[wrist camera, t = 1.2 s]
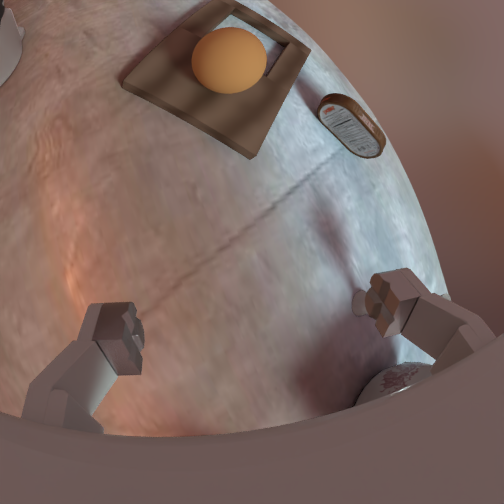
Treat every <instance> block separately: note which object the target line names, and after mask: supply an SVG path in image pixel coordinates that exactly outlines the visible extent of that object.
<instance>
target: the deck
mask: <svg viewBox="0 0 504 504" xmlns="http://www.w3.org/2000/svg"><path fill="white" fill-rule="evenodd" d="M230 14H232V15H234V16H235V17H237V18H239V19H241V20H242V21H244V22H246V23H248V24H249V25H251V26H253V27H254V28H256V29H258V30H259V31H261V32H262V33H264V34H265V35H267V36H269V37H270V38H272V39H273V40H275V41H276V42H278V43H279V44H281V45H282V46H283V47H285V48H284V50H283V51H282V52H281V54H280V55H279V57H278V58H277V60H276V61H275V63H274V64H273V66H272V67H271V69H270V70H269V72H268V73H267V75H266V76H265V75H262V77H261V78H260V79H259V80H258V82H257V83H255V84H254V85H253V86H252V87H250V88H248V89H247V90H244V91H242V92H238V93H232V94H224V93H218V92H214V91H212V90H210V89H208V88H206V87H205V86H203V85H202V84H201V83H200V82H199V81H198V79H197V78H196V76H195V74H194V72H193V69H192V54H193V51H194V49H195V47H196V45H197V43H198V42H199V41H200V40H201V39H202V38H203V37H204V36H205V35H207V34H208V33H210V32H211V31H212V30H213V29H214V28H215V27H217V26H218V25H219V24H220V23H221V22H222V21H223V20H224V19H226V18H227V17H228V16H229V15H230ZM310 52H311V49H309V48H308V47H307V46H305V45H304V44H303V43H301V42H300V41H299V40H297V39H296V38H294V37H293V36H292V35H290V34H289V33H287V32H286V31H284V30H283V29H282V28H280V27H279V26H277V25H275V24H274V23H272V22H271V21H269V20H268V19H266V18H264V17H263V16H261V15H260V14H258V13H256V12H255V11H253V10H251V9H249V8H248V7H246V6H244V5H242V4H240V3H239V2H237V1H235V0H212V1H210V2H209V3H208V4H206V5H205V6H204V7H202V8H201V9H200V10H198V11H197V12H196V13H194V14H193V15H192V16H191V17H189V18H188V19H187V20H186V21H184V22H183V23H182V24H181V25H180V26H178V27H177V28H176V29H175V30H174V31H173V32H171V33H170V34H169V35H168V36H167V37H166V38H165V39H164V40H163V41H161V42H160V43H159V44H158V45H157V46H156V47H155V48H154V49H153V50H152V51H151V52H150V53H149V54H148V55H147V56H146V57H145V58H144V59H143V60H142V61H141V62H140V63H139V64H138V65H137V66H136V67H135V68H134V69H133V70H132V71H131V73H130V74H129V75H128V76H127V77H126V78H125V79H124V80H123V87H122V88H123V89H125V90H127V91H129V92H131V93H133V94H135V95H137V96H139V97H141V98H143V99H145V100H147V101H149V102H151V103H153V104H155V105H157V106H159V107H160V108H162V109H164V110H166V111H168V112H170V113H172V114H173V115H175V116H177V117H179V118H181V119H182V120H184V121H186V122H188V123H190V124H191V125H193V126H195V127H197V128H198V129H200V130H202V131H204V132H205V133H207V134H209V135H210V136H212V137H214V138H215V139H217V140H219V141H220V142H222V143H224V144H225V145H227V146H229V147H230V148H232V149H233V150H235V151H237V152H238V153H240V154H241V155H243V156H245V157H246V158H248V159H249V160H251V159H252V158H254V157H255V156H256V155H257V153H258V151H259V149H260V147H261V145H262V143H263V141H264V139H265V137H266V135H267V133H268V131H269V129H270V127H271V125H272V123H273V121H274V120H275V118H276V116H277V114H278V112H279V110H280V108H281V106H282V104H283V102H284V100H285V98H286V96H287V94H288V93H289V91H290V89H291V87H292V85H293V83H294V81H295V79H296V78H297V76H298V74H299V72H300V70H301V68H302V66H303V65H304V63H305V61H306V59H307V57H308V56H309V54H310Z"/></svg>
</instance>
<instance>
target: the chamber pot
mask: <svg viewBox="0 0 504 504" xmlns="http://www.w3.org/2000/svg"><path fill="white" fill-rule="evenodd" d="M431 367H432V365H430V364H426V363H421V362H404V363H402V364H399V365H396V366H393V367H390V368H388V369H385V370H383V371H381V372H380V373H378V374H377V375H376V376H375V377H373V378H372V379H371V380H370V382H369V383H368V384H367V385H366V386H365V388H364V389H363V391H362V392H361V394H360V396H359V397H358V399H357V402H356V404H355V406H358V405H361V404H364V403H367V402H369V401H372V400H375V399H378V398H380V397H383V396H386V395H388V394H391V393H393V392H396V391H398V390H401V389H403V388H405V387H408V386H410V385H412V384H415V383H417V382H419V381H421V380H423V379H425V378H428V377H430V376H432V374H431V372H430V368H431ZM355 406H354V407H355Z"/></svg>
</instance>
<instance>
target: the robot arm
mask: <svg viewBox="0 0 504 504" xmlns="http://www.w3.org/2000/svg"><path fill="white" fill-rule="evenodd" d="M24 34H25V30H24V28H23V27H17V24H16V21H15V18H14V15H13V12H12V10H11V9H10V8H5V6H4V0H0V86H1V85H2V84H3V83H4V82H5V81H6V80H7V78H8V77H9V76H10V75H11V73H12V72H13V70H14V69H15V67H16V66H17V64H18V62H19V60H20V57H21V54H22V39H23V36H24ZM370 284H371V286H372V287H371V288H370V289H369V290H368V291H367V293H366V296H365V307H366V311H367V313H368V314H369V316H370V317H372V318H373V319H375V320H376V323H375V326H376V327H377V329H378V331H379V332H380V334H381V335H382V337H383V338H385V337H389V336H393V335H396V334H400V333H401V335H403V336H404V337H405V338H407V339H408V340H409V341H411V342H412V343H414V344H415V345H416V346H418V347H419V348H420V349H422V350H423V351H424V352H426V353H427V354H429V355H430V356H431V357H433V358H434V359H435V360H436V361H435V363H434V364H433V365H432V367H431V368H430V372H431V374H432V376H430V377H428V378H425V379H423V380H421V381H419V382H417V383H415V384H412V385H410V386H408V387H405V388H403V389H401V390H398V391H396V392H393V393H391V394H388V395H386V396H383V397H380V398H378V399H375V400H372V401H369V402H367V403H364V404H361V405H358V406H355V407H351V408H348V409H345V410H342V411H338V412H335V413H331V414H328V415H324V416H320V417H316V418H312V419H308V420H304V421H300V422H295V423H291V424H286V425H281V426H275V427H270V428H264V429H258V430H251V431H244V432H236V433H227V434H217V435H204V436H186V437H141V436H123V435H111V434H103V433H104V428H103V426H102V425H101V424H100V423H99V422H98V421H96V420H95V419H94V418H93V417H92V414H93V413H94V411H95V410H96V408H97V407H98V405H99V404H100V402H101V401H102V399H103V398H104V396H105V395H106V393H107V392H108V391H109V389H110V388H111V386H112V385H113V383H114V382H115V380H116V379H117V378H118V376H119V375H141V371H142V361H143V358H142V356H141V354H140V351H141V350H142V349H143V348H144V341H145V339H144V329H143V325H142V323H141V320H140V319H138V318H137V317H136V313H137V310H136V307H135V305H134V303H133V302H115V303H91V304H90V305H89V306H88V309H87V312H86V314H85V317H84V320H83V323H82V326H81V329H80V332H79V335H78V339H77V341H72V342H71V343H70V344H69V345H68V346H67V347H66V348H65V349H64V350H63V351H62V352H61V353H60V354H59V355H58V356H57V357H56V358H55V359H54V360H53V361H52V362H51V363H50V364H49V365H48V366H47V367H46V368H45V369H44V370H43V371H42V372H41V373H40V374H39V375H38V376H37V377H36V378H35V379H34V380H33V381H32V382H31V383H30V385H29V389H28V392H27V396H26V400H25V404H24V408H23V412H22V416H21V418H19V417H16V416H12V415H9V414H6V413H3V412H0V504H504V333H503V334H502V335H501V336H499V337H498V338H496V337H495V335H494V334H493V333H492V331H491V330H490V329H489V328H488V326H487V325H486V324H485V322H484V321H483V320H482V319H481V317H480V316H478V315H476V314H474V313H472V312H470V311H469V310H466V309H465V308H463V307H461V306H459V305H457V304H455V303H453V302H451V301H449V300H447V299H445V298H443V297H441V296H439V295H437V294H435V293H432V294H431V292H430V291H429V290H428V289H427V288H426V287H425V285H424V284H423V283H422V282H421V281H420V280H419V279H418V278H417V276H416V275H415V274H414V273H413V272H412V271H411V270H410V269H408V268H401V269H396V270H392V271H386V272H381V273H375V274H374V275H373V276H372V277H371V280H370Z"/></svg>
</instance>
